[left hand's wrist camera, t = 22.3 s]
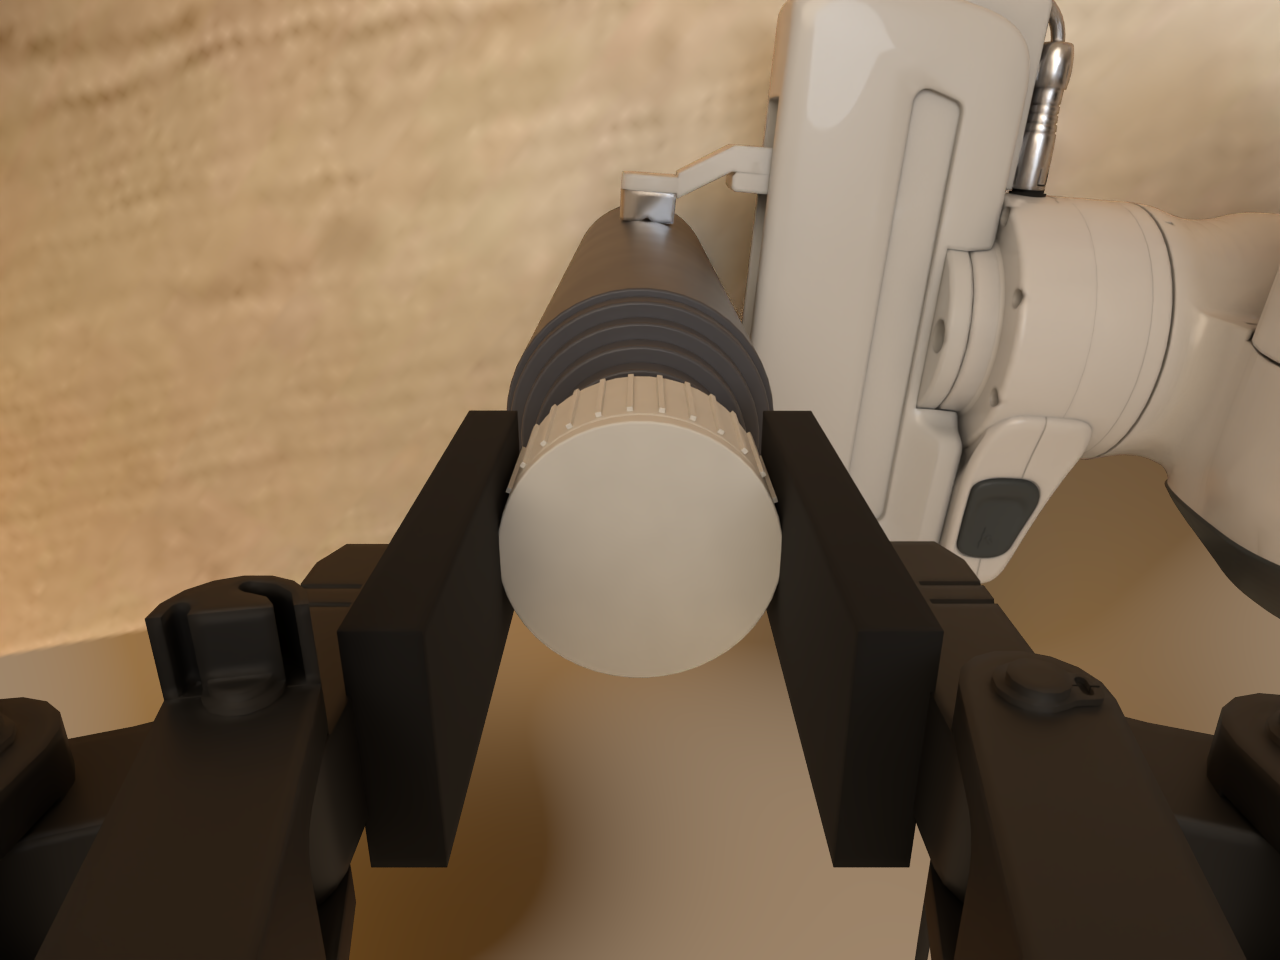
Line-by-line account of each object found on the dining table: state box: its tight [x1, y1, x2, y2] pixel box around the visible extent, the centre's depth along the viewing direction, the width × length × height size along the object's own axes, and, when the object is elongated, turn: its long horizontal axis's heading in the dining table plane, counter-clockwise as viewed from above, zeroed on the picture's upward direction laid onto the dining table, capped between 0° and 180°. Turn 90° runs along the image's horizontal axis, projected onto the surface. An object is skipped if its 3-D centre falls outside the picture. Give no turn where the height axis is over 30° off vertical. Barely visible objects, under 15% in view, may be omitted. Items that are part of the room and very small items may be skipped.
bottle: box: [507, 207, 774, 456], centre depth 24 cm, size 5×5×25 cm
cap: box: [499, 374, 782, 678], centre depth 13 cm, size 4×4×2 cm
